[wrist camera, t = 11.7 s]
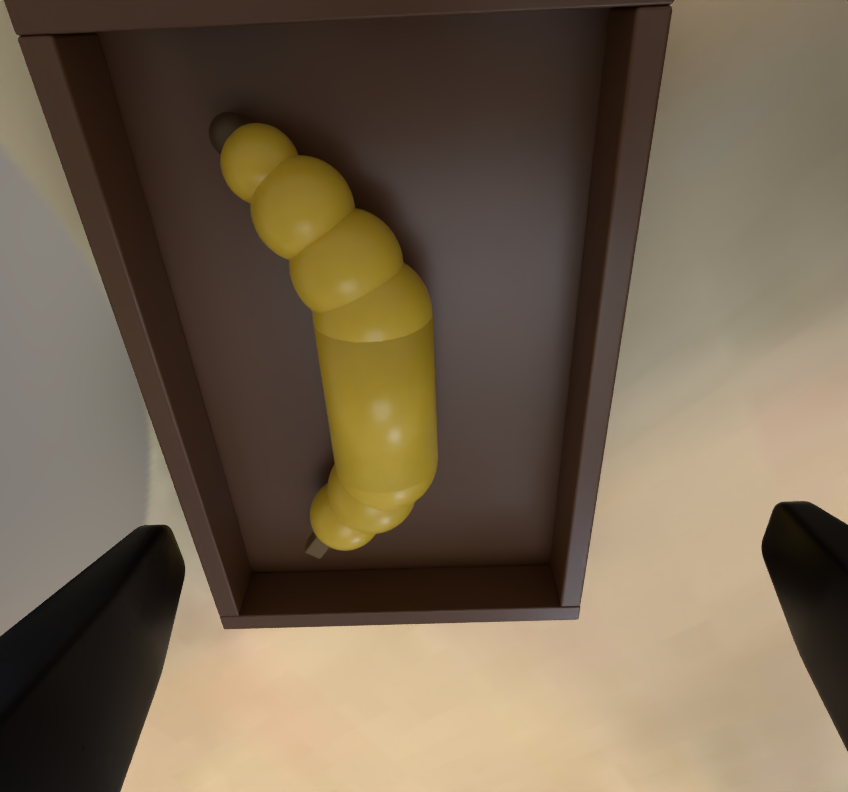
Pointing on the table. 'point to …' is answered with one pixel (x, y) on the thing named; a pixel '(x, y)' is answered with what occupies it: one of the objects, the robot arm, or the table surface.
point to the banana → (346, 330)
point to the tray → (422, 250)
